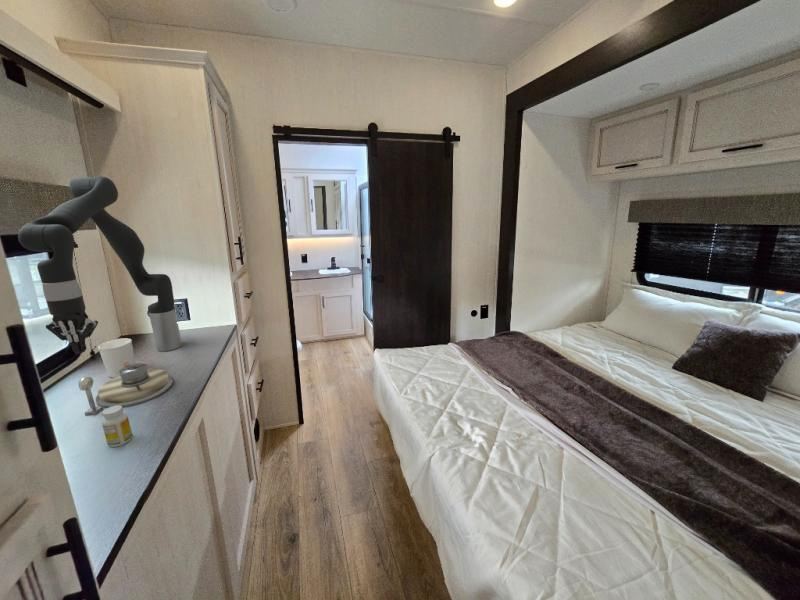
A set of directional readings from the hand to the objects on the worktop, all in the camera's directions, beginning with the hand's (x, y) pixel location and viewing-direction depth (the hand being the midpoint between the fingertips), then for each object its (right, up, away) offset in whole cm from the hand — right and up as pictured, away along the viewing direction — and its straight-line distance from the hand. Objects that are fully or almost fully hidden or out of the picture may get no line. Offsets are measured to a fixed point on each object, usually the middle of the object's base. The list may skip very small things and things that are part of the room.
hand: (80, 352), depth 102 cm
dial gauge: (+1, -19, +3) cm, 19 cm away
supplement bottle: (+20, -23, -10) cm, 32 cm away
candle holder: (-10, -12, +28) cm, 32 cm away
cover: (+5, -12, +14) cm, 20 cm away
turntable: (+5, -14, +15) cm, 21 cm away
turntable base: (+5, -16, +15) cm, 22 cm away
